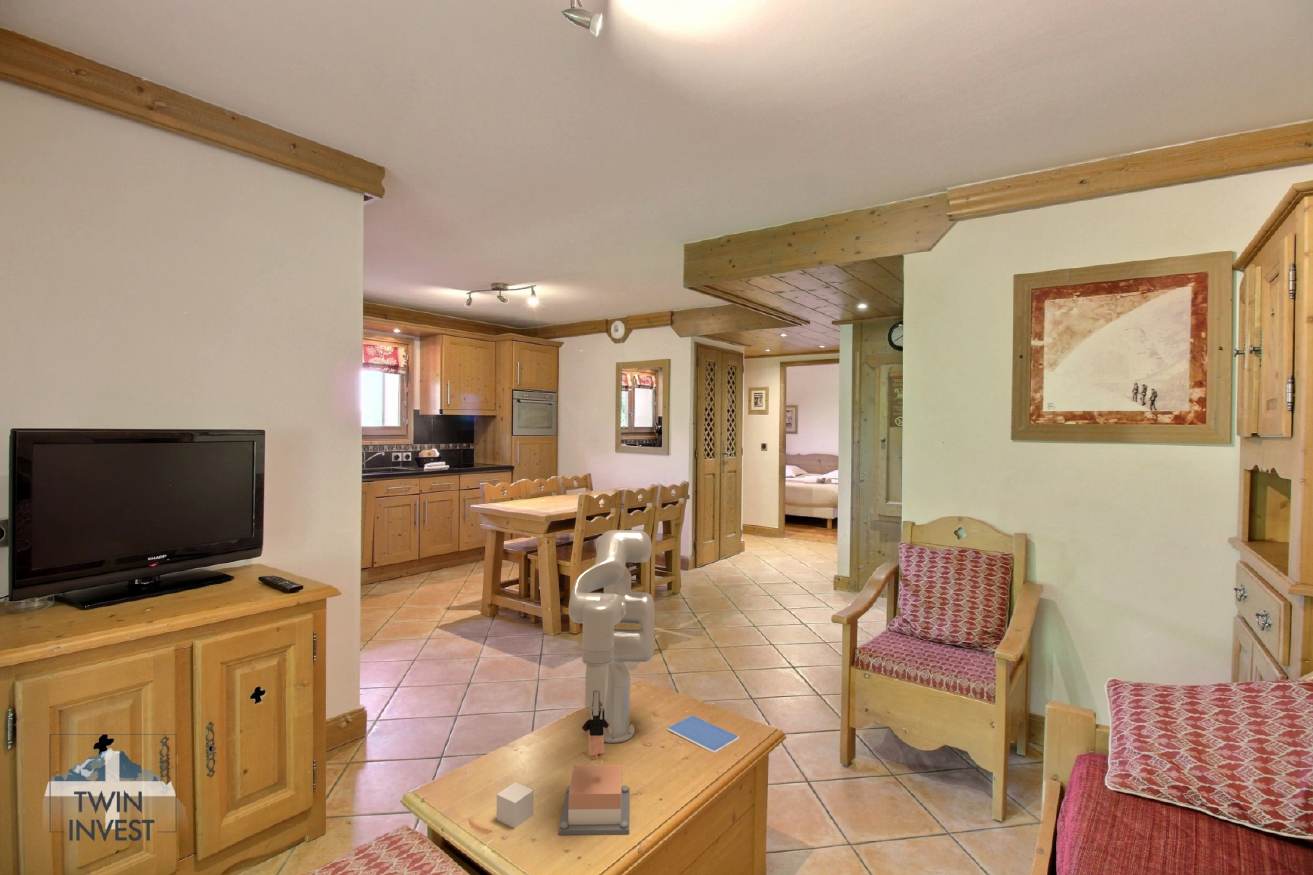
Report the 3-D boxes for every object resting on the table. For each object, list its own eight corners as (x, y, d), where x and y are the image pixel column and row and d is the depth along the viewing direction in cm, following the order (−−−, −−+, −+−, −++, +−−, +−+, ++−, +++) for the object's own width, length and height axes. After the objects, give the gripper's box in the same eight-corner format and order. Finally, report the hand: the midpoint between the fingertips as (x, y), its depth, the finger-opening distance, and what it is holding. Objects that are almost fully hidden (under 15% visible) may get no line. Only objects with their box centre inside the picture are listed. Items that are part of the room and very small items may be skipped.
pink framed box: (566, 792, 150) (566, 760, 150) (629, 791, 151) (630, 760, 151) (558, 834, 134) (558, 799, 134) (629, 833, 135) (629, 798, 135)
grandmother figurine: (604, 750, 145) (605, 696, 146) (612, 756, 142) (613, 701, 143) (576, 757, 141) (577, 702, 142) (583, 764, 138) (584, 708, 139)
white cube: (496, 819, 139) (496, 794, 139) (514, 806, 144) (515, 781, 144) (514, 828, 136) (515, 802, 136) (533, 814, 141) (533, 789, 141)
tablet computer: (740, 740, 178) (741, 735, 178) (714, 756, 169) (714, 751, 169) (692, 718, 192) (692, 714, 192) (665, 731, 183) (665, 727, 183)
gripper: (585, 642, 150) (584, 714, 150) (579, 667, 134) (578, 748, 134) (614, 642, 151) (613, 714, 151) (612, 667, 134) (611, 748, 134)
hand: (597, 730), depth 142 cm, fingers closed on grandmother figurine, 3 cm apart
